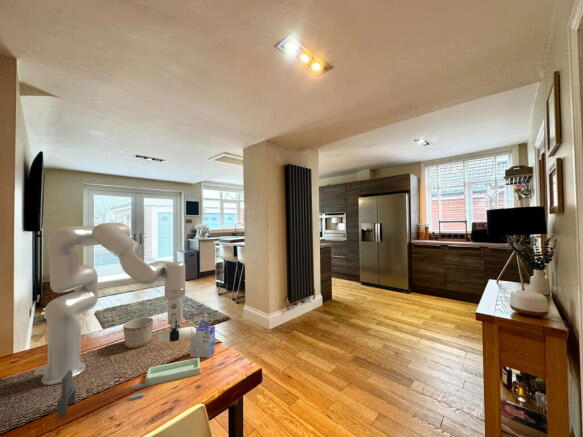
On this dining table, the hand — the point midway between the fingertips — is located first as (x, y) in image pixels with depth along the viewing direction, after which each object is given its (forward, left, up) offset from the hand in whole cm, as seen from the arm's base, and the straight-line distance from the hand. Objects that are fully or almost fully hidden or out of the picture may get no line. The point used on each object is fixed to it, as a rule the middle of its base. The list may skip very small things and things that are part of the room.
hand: (174, 337), depth 94 cm
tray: (0, 0, -14) cm, 14 cm away
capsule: (+1, 0, -1) cm, 1 cm away
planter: (-19, +34, -15) cm, 41 cm away
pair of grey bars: (-11, -6, -14) cm, 19 cm away
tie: (-31, -6, -14) cm, 35 cm away
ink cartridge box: (+11, +11, -15) cm, 21 cm away
